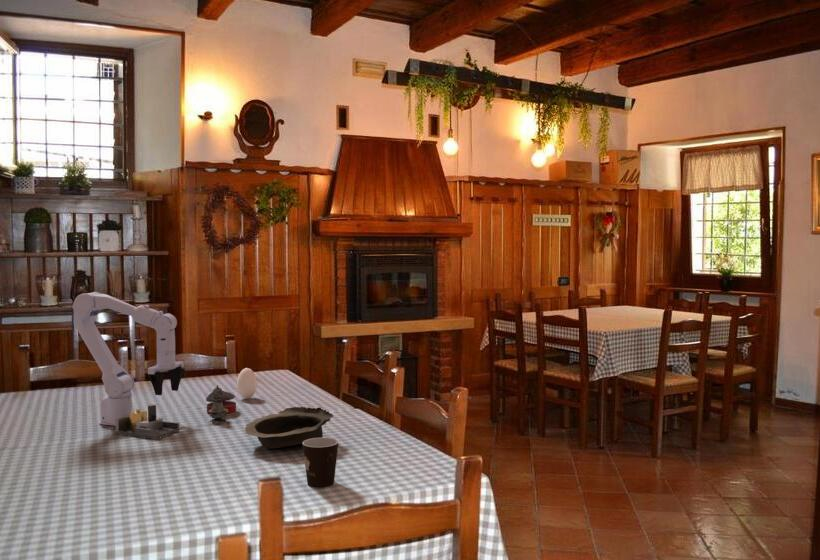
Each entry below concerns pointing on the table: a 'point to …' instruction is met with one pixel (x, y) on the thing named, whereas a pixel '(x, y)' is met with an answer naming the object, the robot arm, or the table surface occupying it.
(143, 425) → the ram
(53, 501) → the table surface
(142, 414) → the gold bell
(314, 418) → the stone bowl
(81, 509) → the table surface
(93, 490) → the table surface
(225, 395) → the canned food
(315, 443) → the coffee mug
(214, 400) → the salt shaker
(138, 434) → the press frame
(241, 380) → the egg
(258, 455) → the table surface
